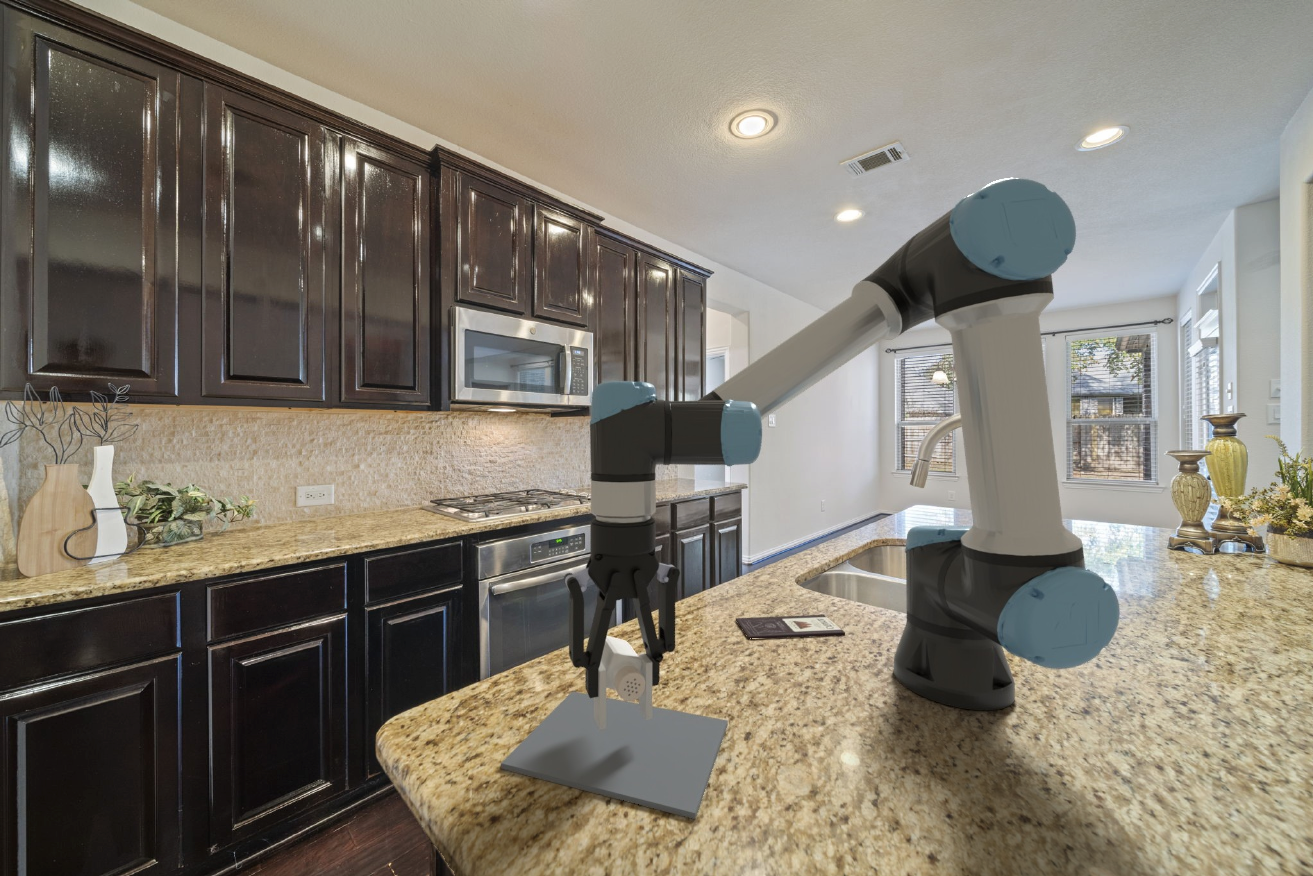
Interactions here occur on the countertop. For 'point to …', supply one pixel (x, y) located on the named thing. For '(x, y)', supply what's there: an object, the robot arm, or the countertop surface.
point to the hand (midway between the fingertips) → (623, 717)
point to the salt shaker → (622, 669)
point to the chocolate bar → (789, 626)
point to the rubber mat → (624, 753)
